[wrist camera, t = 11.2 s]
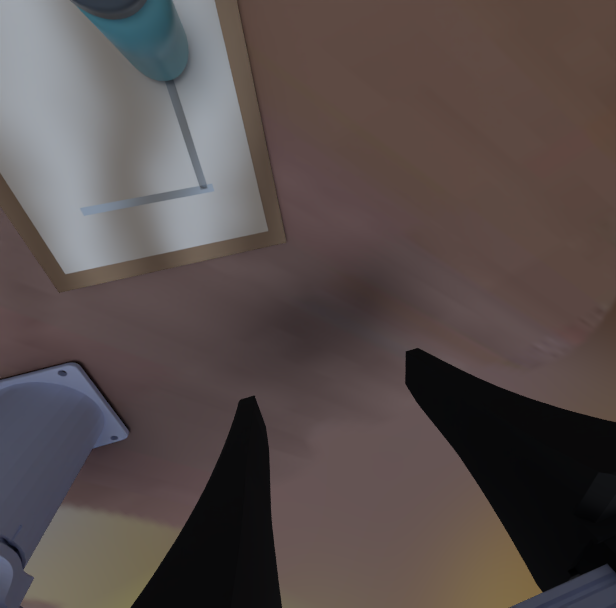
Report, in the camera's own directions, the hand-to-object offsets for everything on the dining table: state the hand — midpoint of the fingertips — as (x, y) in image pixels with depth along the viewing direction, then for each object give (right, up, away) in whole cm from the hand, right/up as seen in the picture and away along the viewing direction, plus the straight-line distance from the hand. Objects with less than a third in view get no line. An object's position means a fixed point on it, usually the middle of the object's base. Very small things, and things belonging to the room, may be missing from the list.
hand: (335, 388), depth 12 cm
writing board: (-11, +13, +2) cm, 17 cm away
